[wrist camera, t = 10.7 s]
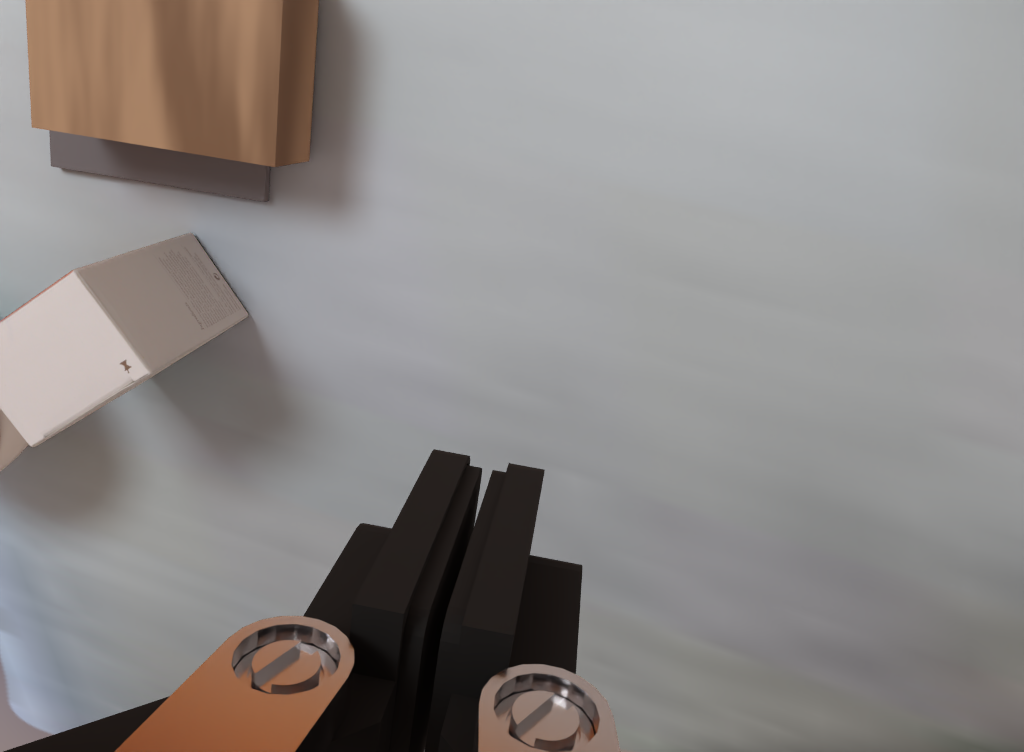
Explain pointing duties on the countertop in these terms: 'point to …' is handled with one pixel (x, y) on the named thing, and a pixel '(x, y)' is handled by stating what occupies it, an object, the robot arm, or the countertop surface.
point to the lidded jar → (9, 442)
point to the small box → (108, 332)
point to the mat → (160, 166)
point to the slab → (178, 74)
